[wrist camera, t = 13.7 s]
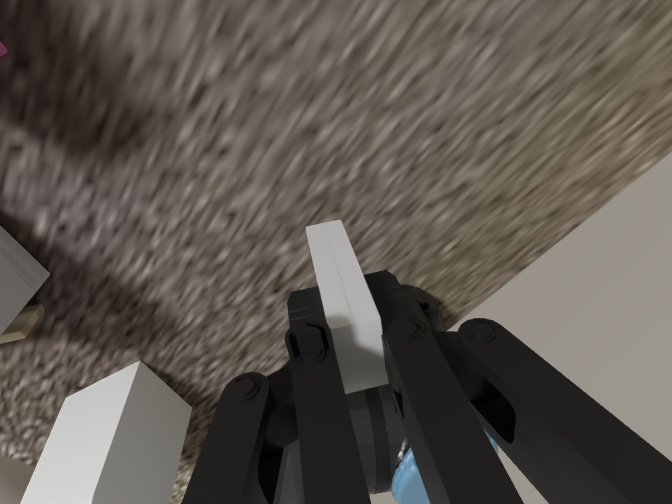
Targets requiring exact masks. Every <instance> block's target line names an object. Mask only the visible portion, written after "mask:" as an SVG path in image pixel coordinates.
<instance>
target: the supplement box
mask: <svg viewBox="0 0 672 504" xmlns="http://www.w3.org/2000/svg"><path fill="white" fill-rule="evenodd" d="M49 276H50V273H49V272H48V271H47V270H46V269H45V268H44V267H43V266H42V265H41V264H40V263H39V262H38V261H36V260H35V259H34V258H33V257H32V256H31V255H30V254H29V253H28V252H27V251H26V250H25V249H24V248H23V247H22V246H21V245H20V244H19V243H18V242H17V241H16V240H15V239H14V238H13V237H12V236H11V235H10V234H9V233H8V232H7V231H6V230H5V229H4V228H3V227H2V226H1V225H0V336H1V334H2V333H3V332H4V331H5V329H6V328H7V327H8V326H9V325H10V323H11V322H12V321H13V320H14V318H15V317H16V316H17V315H18V314H19V312H20V311H21V310H22V309H23V307H24V306H25V305H26V304H27V303H28V301H29V300H30V299H31V298H32V296H33V295H34V294H35V293H36V292H37V290H38V289H39V288H40V287H41V285H42V284H43V283H44V282H45V280H46V279H47V278H48V277H49Z"/></svg>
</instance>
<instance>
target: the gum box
mask: <svg viewBox="0 0 672 504" xmlns="http://www.w3.org/2000/svg"><path fill="white" fill-rule="evenodd" d="M6 53H7V49H6V48H5V46H4V45H3V44H2V42H1V41H0V57H1V56H3V55H4V54H6Z"/></svg>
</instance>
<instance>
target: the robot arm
mask: <svg viewBox="0 0 672 504" xmlns="http://www.w3.org/2000/svg"><path fill="white" fill-rule="evenodd" d="M306 232H307V236H308V241H309V246H310V250H311V255H312V260H313V264H314V269H315V273H316V278H317V283H318V286H316V287H312V288H307V289H303V290H298V291H294V292H292V293H291V295H290V297H289V299H288V301H287V305H288V315H289V325H290V328H289V330H288V331H287V332H286V335H285V343H286V346H287V350H288V353H289V356H290V359H289V361H288V362H287V363H286V365H284V366H283V367H282V368H281V369H280V370H278V371H276V372H275V373H273V374H271V375H269V376H267V377H266V376H264V375H262V374H261V373H256V372H249V373H244V374H241V375H239V376H237V377H235V378H234V379H233V380H231V381H230V382H229V383H228V384H227V386H226V387H225V389H224V391H223V393H222V395H221V398H220V401H219V403H218V406H217V409H216V411H215V414H214V417H213V420H212V422H211V425H210V428H209V430H208V433H207V436H206V438H205V441H204V444H203V446H202V449H201V452H200V455H199V457H198V460H197V463H196V465H195V468H194V471H193V473H192V476H191V479H190V481H189V484H188V487H187V489H186V492H185V495H184V498H183V500H182V503H181V504H371V501H370V497H369V495H370V494H376V493H383V492H389V491H391V492H392V495H393V498H394V499H395V501H397V503H398V504H524V503H523V501H522V499H521V497H520V496H519V494H518V492H517V490H516V488H515V486H514V484H513V482H512V481H511V479H510V477H509V475H508V473H507V471H506V470H505V468H504V466H503V464H502V462H501V460H500V459H499V457H498V445H499V447H500V448H501V449H502V450H503V451H504V452H505V453H506V455H507V456H508V457H509V458H510V459H511V461H512V462H513V463H514V464H515V465H516V466H517V467H518V469H519V470H520V471H521V472H522V473H523V474H524V475H525V477H526V478H527V479H528V480H529V481H530V482H531V483H532V485H534V487H535V488H536V489H537V490H538V491H539V492H540V494H541V495H542V496H543V497H544V498H545V499H546V501H547V502H548V503H549V504H672V462H671V461H670V460H668V459H667V458H666V457H665V456H664V455H662V454H661V453H660V452H659V451H657V450H656V449H655V448H654V447H652V446H651V445H650V444H649V443H647V442H646V441H645V440H644V439H642V438H641V437H640V436H638V435H637V434H636V433H635V432H634V431H632V430H631V429H630V428H629V427H627V426H626V425H625V424H624V423H622V422H621V421H620V420H619V419H617V418H616V417H615V416H614V415H613V414H611V413H610V412H609V411H608V410H606V409H605V408H604V407H603V406H601V405H600V404H599V403H597V402H596V401H595V400H594V399H593V398H591V397H590V396H589V395H587V394H586V393H585V392H584V391H583V390H581V389H580V388H579V387H578V386H576V385H575V384H574V383H573V382H571V381H570V380H569V379H568V378H566V377H565V376H564V375H563V374H561V373H560V372H559V371H558V370H556V369H555V368H554V367H553V366H551V365H550V364H549V363H548V362H546V361H545V360H544V359H543V358H541V357H540V356H539V355H538V354H536V353H535V352H534V351H533V350H531V349H530V348H529V347H528V346H526V345H525V344H524V343H523V342H521V341H520V340H519V339H518V338H516V337H515V336H514V335H513V334H512V333H510V332H509V331H508V330H507V329H505V328H504V327H503V326H502V325H500V324H498V323H497V322H495V321H493V320H489V319H485V318H475V319H471V320H467V321H466V322H464V323H462V324H461V325H460V327H459V329H458V332H452V331H451V332H450V331H445V324H444V319H443V316H442V313H441V311H440V310H439V308H438V306H437V305H436V303H435V301H434V300H433V299H432V298H431V296H430V295H428V294H427V293H426V292H424V291H423V290H421V289H419V288H416V287H413V286H408V285H400V284H399V282H398V280H397V279H396V277H395V276H394V275H393V274H391V273H390V272H388V271H387V270H384V271H379V272H375V273H370V274H366V275H363V274H362V271H361V269H360V266H359V264H358V261H357V259H356V256H355V254H354V251H353V249H352V246H351V244H350V242H349V239H348V237H347V234H346V232H345V229H344V227H343V224H342V222H341V219H340V220H336V221H331V222H326V223H322V224H317V225H312V226H308V227H306Z"/></svg>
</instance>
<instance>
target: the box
mask: <svg viewBox="0 0 672 504" xmlns="http://www.w3.org/2000/svg"><path fill="white" fill-rule="evenodd" d="M44 311H45V309H44V307H43V306H42V304H37V305H32V306H28V307H23V309H22V310H21V311H20V312H19V314H18V315H17V316H16V317H15V318H14V320H13V321H12V322H11V323H10V325H9V326H8V327H7V328H6V329H5V331H4V332H3V333H2V334H1V336H0V344H1V343H6V342H10V341H15V340H19V339H24V338H26V337H27V335H28V334H29V332H30V331H31V330H32V328H33V327H34V325H35V324H36V323H37V321H38V320H39V318H40V317H41V316H42V314H43V313H44Z"/></svg>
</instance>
